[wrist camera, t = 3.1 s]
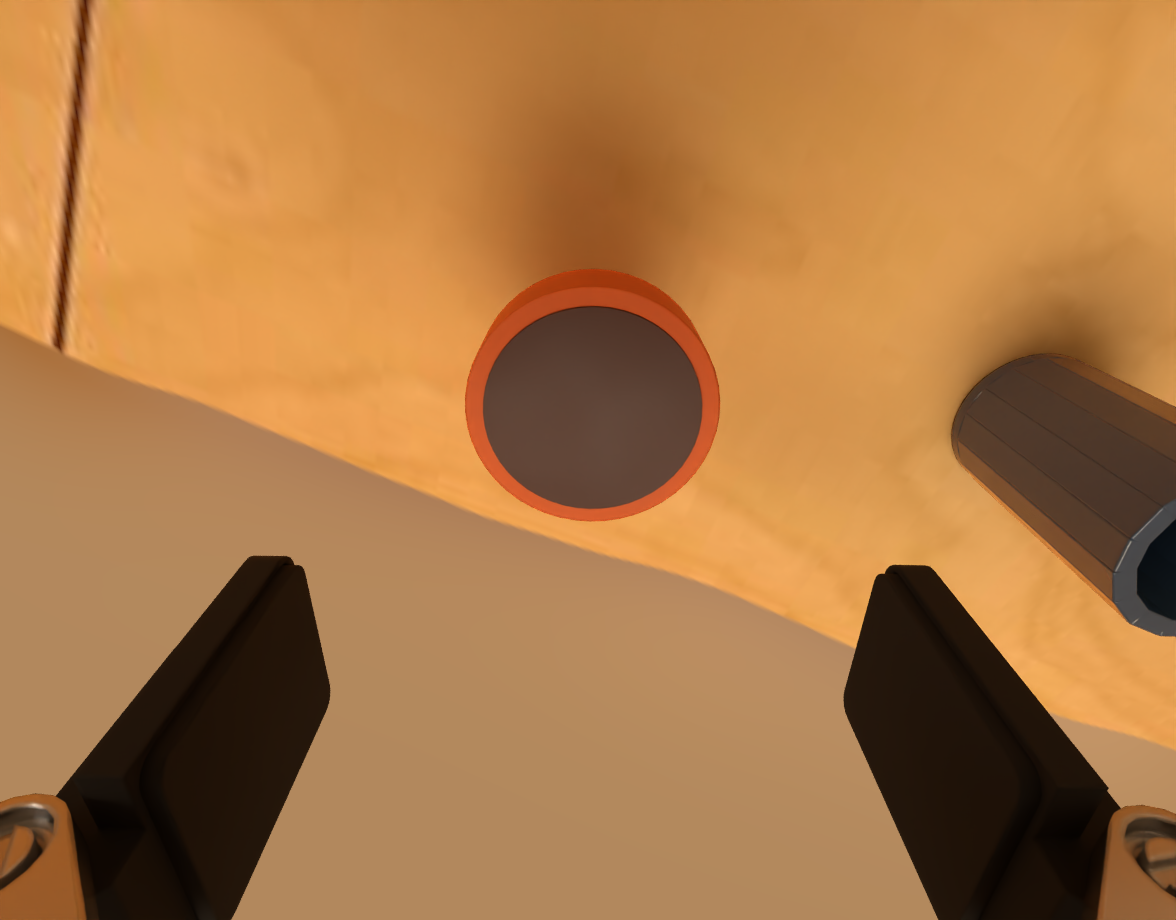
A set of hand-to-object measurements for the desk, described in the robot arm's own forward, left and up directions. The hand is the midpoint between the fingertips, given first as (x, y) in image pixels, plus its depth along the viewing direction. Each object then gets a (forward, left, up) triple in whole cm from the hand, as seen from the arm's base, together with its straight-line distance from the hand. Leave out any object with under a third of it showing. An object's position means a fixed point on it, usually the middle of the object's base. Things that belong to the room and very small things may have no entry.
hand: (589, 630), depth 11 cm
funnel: (0, 0, -18) cm, 18 cm away
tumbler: (+4, +19, -18) cm, 26 cm away
